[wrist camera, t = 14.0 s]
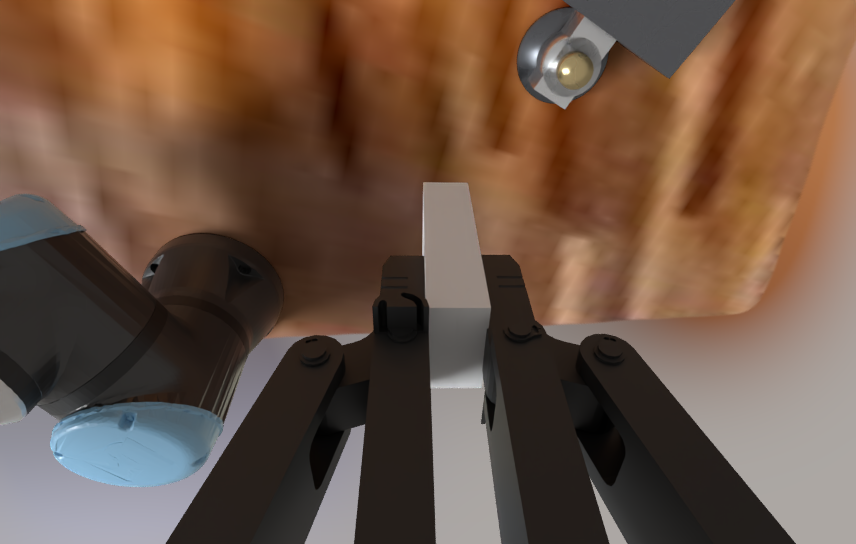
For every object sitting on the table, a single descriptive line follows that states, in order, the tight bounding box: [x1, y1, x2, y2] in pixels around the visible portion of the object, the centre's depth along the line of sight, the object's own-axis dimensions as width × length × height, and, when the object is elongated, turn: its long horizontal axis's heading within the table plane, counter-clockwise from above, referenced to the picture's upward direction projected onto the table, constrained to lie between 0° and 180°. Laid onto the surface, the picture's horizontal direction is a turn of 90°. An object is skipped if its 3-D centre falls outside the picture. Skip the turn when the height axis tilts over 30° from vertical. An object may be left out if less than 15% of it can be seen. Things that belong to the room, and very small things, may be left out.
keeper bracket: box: [517, 0, 735, 104], centre depth 42 cm, size 16×11×6 cm
